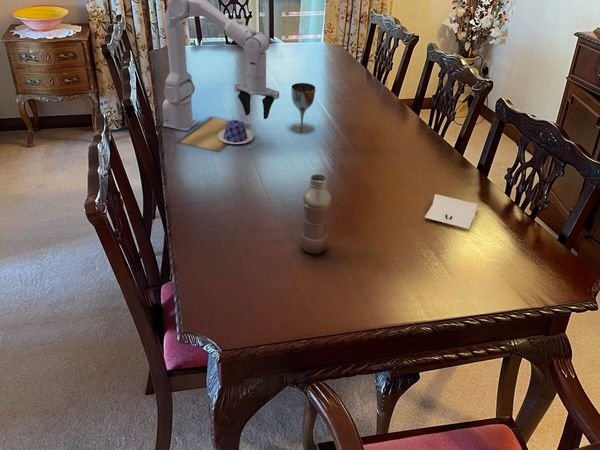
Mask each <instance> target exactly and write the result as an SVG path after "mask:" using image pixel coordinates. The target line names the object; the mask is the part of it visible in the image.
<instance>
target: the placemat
mask: <svg viewBox="0 0 600 450" xmlns="http://www.w3.org/2000/svg"><path fill="white" fill-rule="evenodd" d="M229 121H230V120H225V119H222V118H217V117H209V118H208V119H206V120H205V121H204V122H201V124H199V125H198V126H197V127H195V128H194V129H193V130H191V131H190V132H189V133H187V134H186V135H185V136H183V137H182V138H180V139H179V140H178V141H177V143H180V144H185V145H189V146H193V147H197V148H202V149H207V150H211V151H215V152H220V151H221V150H222V149H223V148H225V146H227V145H228V144H229V143H226V142H223V141H221V140H220V139H219V138H218V136H217V135H218V133H219V132H220V131H222V130H224V129H225V128H226V125H227V123H228V122H229ZM244 125H245V128H248V127H249V124H245V123H244Z"/></svg>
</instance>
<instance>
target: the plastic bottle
mask: <svg viewBox="0 0 600 450" xmlns="http://www.w3.org/2000/svg"><path fill="white" fill-rule="evenodd" d="M309 178H310V179H309V187H308V188H307V189H306V190H305V192H304V194H303V196H302V200H303V203H302V204H303V211H304V213H303V214H304V215H303V225H302V231H301V233H300V239H299V241H300V246H301V248H302V249H303V251H305V253H308V254H314V255H315V254H320V253H322V252H324V251H325V249H326V248H327V245H328V234H327V233H328V232H327V222H328V215H329V211H330V208H331V204H332V195H331V193H330V192H329V190H328V189H327V186H328V182H327V181H328V178H327V177H326V176H325V175H324V174H319V173H316V174H312V175H311V176H310V177H309Z"/></svg>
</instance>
